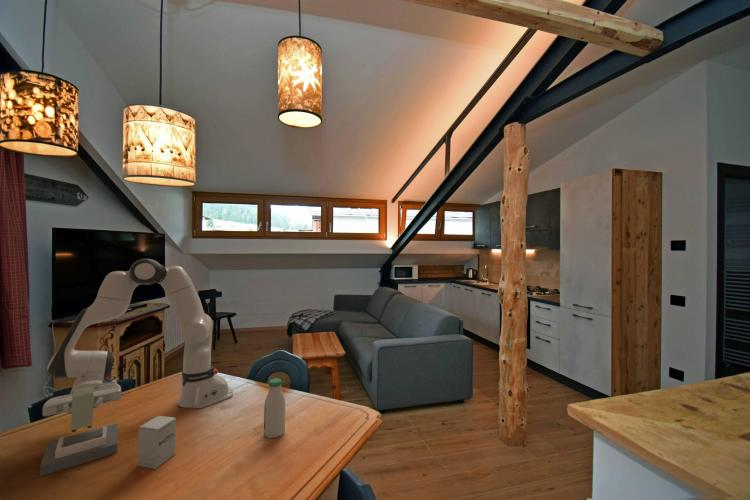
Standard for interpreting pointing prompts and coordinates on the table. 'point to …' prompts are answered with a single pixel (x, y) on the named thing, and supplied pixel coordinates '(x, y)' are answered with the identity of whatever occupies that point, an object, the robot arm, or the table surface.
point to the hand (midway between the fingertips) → (82, 408)
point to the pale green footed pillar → (82, 408)
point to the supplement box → (156, 441)
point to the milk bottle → (274, 410)
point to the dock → (79, 449)
